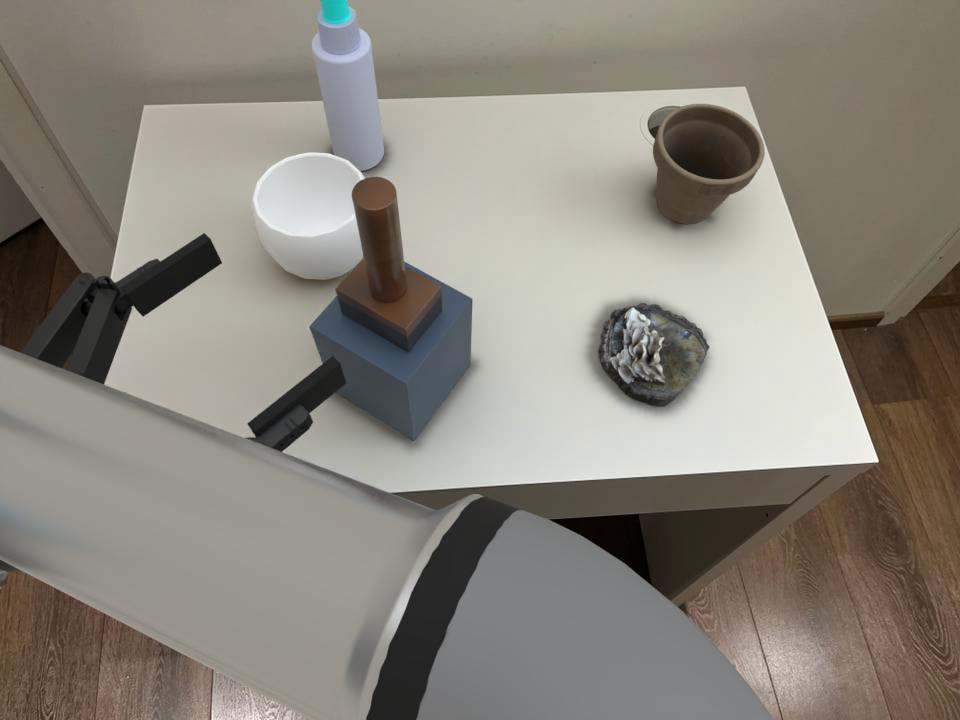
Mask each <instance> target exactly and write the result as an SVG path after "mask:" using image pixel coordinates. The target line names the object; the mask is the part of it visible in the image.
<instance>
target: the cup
mask: <svg viewBox="0 0 960 720" xmlns="http://www.w3.org/2000/svg"><path fill="white" fill-rule="evenodd" d="M363 179H365V176H364V175H363V172H362V171H359V170H358V169H357V168H356V167H355V166H354V165H353V164H351V163H350V162H349V161H348V160H345V159H343V158H340V157H337V156H335V155H334V154H331V153H330V152H328V153H327V152H311V151H310V152H303V153H299V154H295V155H291V156H288V157H285V158H283V159H282V160H280V161H278V162H276V163H274V164H273V165H271V166H270V167H268V169H266V171H265V172H264V174H262V175H261V176H260V178H259V179H258V180H257V181H256V182H255V183H256V184H255V188H254V191H253V194H252V199H251V214H252V215H251V216H252V220H253V224H254V226H255V230H256V234H257V236H258V239H259V241H260V243H261V246H262V248H263V249H264V250H265V251H266V253H267V254H268V255H270V256H271V257H272V259H273V260H274V261H276V263H277V264H278V265H279V266H280V267H281V268H282V269H283V270H284V271H286V272H288V273H290V274H292V275H294V276H297V277H299V278H302V279H305V280H306V279H307V280H324V281H325V280H326V281H327V280H330V279H331V280H332V279H334V278H338V277H342V276H344V275H346V274H347V273H348V272H351V271H352V270H353V269H354V268H355V266H356V265H357V264H358V263H359V262H360V261H361V260H362V259H363V252H362V247H361V242H360V237H359V232H358V227H357V222H356V216H355V211H354V206H353V201H352V190H353V188H354V186H355V185H356V184H357V183H358V182H359V181H361V180H363Z"/></svg>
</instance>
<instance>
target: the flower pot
mask: <svg viewBox="0 0 960 720" xmlns="http://www.w3.org/2000/svg"><path fill="white" fill-rule="evenodd" d="M658 125H659V126H658V128H657V132H656V135H655V138H654V142H653V146H652V156H653V160H654V164H655V165H656V186H655V188H656V189H655V192H656V193H655V194H656V204H657V207H658V209H659V211H660V212H661V214H663V215H664V216H665V218H668V219H669V220H671V221H673V222H674V223H675V222H676V223H677V224H684V225H694V224H699V223H700V222H702V221H704V220H706V219H707V218H708V217H709V216H710V215H712V214H713V213H714V212H715V211H716V210H717V209H718V208H719V207H720V206H721V205H722V204H723V203H724V202H725V201H726V200H727V199H728V197H729V196H730V195H733V194H736V193H738V192H740V191H742V190H743V189H744V188H746V187H747V186H748V185H749V184H750V183H751V182H752V181H753V179H754V177H755V176H756V174H757V173H758V171H759V170H760V168H761V167H762V165H763V163H764V159H765V151H766V150H765V143H764V140H763V138H762V136H761V134H760V133H759V130H757V128H756V127H755V126H754V125H753V124H752V123H751V122H750V121H749V120H748V119H746V118H745V117H743V116H742V115H741V114H739V113H738V112H736V111H734V110H732V109H729V108H726V107H723V106H720V105H716V104H710V103H691V104H685V105H683V106H679V107H677V108H675V109H673V110H672V111H670V112H669V113H668V114H666V115H665V116H664V118H663V119H662V121H661V122H660V124H658Z"/></svg>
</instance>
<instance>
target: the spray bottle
mask: <svg viewBox="0 0 960 720" xmlns="http://www.w3.org/2000/svg"><path fill="white" fill-rule="evenodd" d="M320 6H321V8H320V9H319V10H318V11H317V14H316V22H317V28H318V32H317V33H316V34H315V35H314V37H313V38H312V41H311V51H312V52H311V53H312V57H313V62H314V67H315V71H316V76H317V81H318V85H319V90H320V94H321V99H322V104H323V108H324V109H323V110H324V113H325V118H326V123H327V127H328V132H329V133H328V134H329V137H330V138H329V139H330V143H331V147H332V152H333V155H335V156H337V157H340V158H343V159H345V160H348V161H349V162H350V163H351V164H353V165H354V166H355V167H356V168H357V169H358V170H359V171H360V172H363V171H364V172H365V171H368V170H370V169H373V168H375V167H376V166H377V165H379V164H380V163H381V162H382V160H383V158H384V155H385V144H384V136H383V129H382V120H381V113H380V104H379V103H380V102H379V96H378V88H377V79H376V73H375V64H374V56H373V48H372V40H371V38H370V36H369V34H368V33H367V32H366V31H365V30H363V29H362V28H360V27H359V22H358V19H357V18H358V17H357V13H356V11H355V9H354V8H352V6H350V5H349V3H348V0H320Z"/></svg>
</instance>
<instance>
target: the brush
mask: <svg viewBox="0 0 960 720" xmlns="http://www.w3.org/2000/svg"><path fill="white" fill-rule="evenodd" d="M364 178H365V177H364ZM352 201H353V206H354V211H355V216H356V222H357V227H358V232H359V237H360V242H361V247H362V252H363V259H362V260H361V261H360V262H359V263H358V264H357V265H356V266H355V267H354V268H353V269H351V270H350V271H349V273H348V274H347V275H346V276H345V277H344V278H343V280H342V281H341V282H340V283H339V284H338V285H337V286H336V287H335V288H334V289H335V294H336V296H337V297H338V301H339V305H340V309H341V313H342V314H343V315H345V316H347V317H348V318H350V319H352V320H354V321H355V322H357V323H359V324H360V325H362V326H364V327H366V328H367V329H369V330H371V331H372V332H374V333H376V334H378V335H379V336H381V337H383V338H384V339H386V340H388V341H390V342H391V343H393V344H395V345H396V346H398V347H400V348H402V349H403V350H405V351H407V352H410V350H411V349H412V348H413V347H414V345H415V344H416V343H417V342H418V340H419V339H420V338H421V337H422V335H423V334H424V333H425V332H426V330H427V329H428V328H429V327H430V325H431V324H432V323H433V322H434V320H435V319H436V318H437V317H438V315H439V314H440V313H441V312H442V295H441V294H442V292H441V286H440V285H439V284H437V283H435V282H433V281H431V280H429V279H428V278H426V277H424V276H422V275H420V274H418V273H417V272H415V271H413V270H411V269H409V268H407V267H406V266H405V264H404V262H405V258H404V257H405V255H404V248H403V239H402V238H403V237H402V230H401V229H402V228H401V221H400V213H399V202H398V193H397V189H396V186H395V185H394V184H393V182H391V181H390V180H388V179H387V178H384V177H380V176H369V177H366V178H365V179H363V180H361V181H359V182H358V183H357V184H356V185H355V186H354V188H353V190H352Z"/></svg>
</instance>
